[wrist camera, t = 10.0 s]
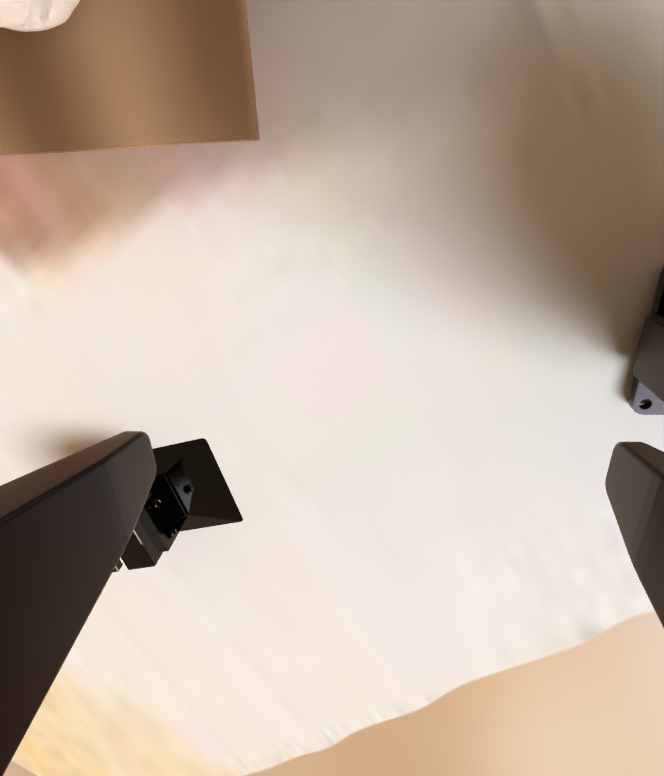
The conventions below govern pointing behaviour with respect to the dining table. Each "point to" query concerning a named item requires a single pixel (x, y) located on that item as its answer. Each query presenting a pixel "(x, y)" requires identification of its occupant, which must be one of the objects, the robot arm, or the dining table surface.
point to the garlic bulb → (35, 14)
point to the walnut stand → (129, 78)
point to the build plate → (179, 502)
